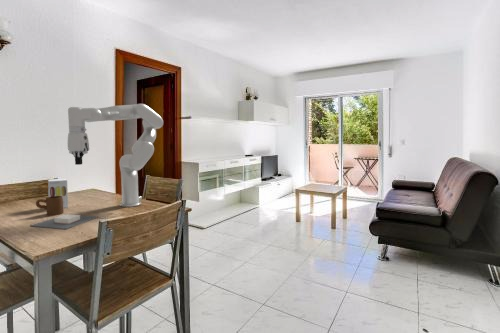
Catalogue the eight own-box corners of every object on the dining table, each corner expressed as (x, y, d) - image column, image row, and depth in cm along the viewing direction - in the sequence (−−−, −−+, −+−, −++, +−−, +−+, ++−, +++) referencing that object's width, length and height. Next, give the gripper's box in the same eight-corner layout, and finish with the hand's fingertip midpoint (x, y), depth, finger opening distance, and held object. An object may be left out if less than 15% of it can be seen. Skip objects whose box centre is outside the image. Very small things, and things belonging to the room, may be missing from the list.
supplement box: (49, 210, 163) (47, 181, 162) (48, 207, 171) (47, 179, 169) (68, 207, 169) (67, 179, 167) (67, 204, 176) (66, 178, 175)
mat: (66, 215, 152) (66, 214, 152) (98, 217, 148) (98, 216, 148) (30, 226, 133) (30, 225, 133) (66, 229, 129) (66, 228, 129)
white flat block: (66, 214, 144) (79, 215, 142) (66, 218, 144) (80, 219, 142) (54, 217, 137) (68, 219, 135) (54, 222, 137) (68, 223, 136)
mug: (37, 218, 146) (35, 200, 146) (36, 215, 152) (35, 197, 151) (64, 214, 154) (63, 197, 153) (62, 211, 160) (61, 195, 159)
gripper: (94, 130, 155) (95, 164, 157) (71, 130, 158) (72, 163, 160) (83, 130, 148) (85, 165, 150) (59, 130, 151) (61, 164, 153)
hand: (78, 164), depth 155 cm, fingers closed
